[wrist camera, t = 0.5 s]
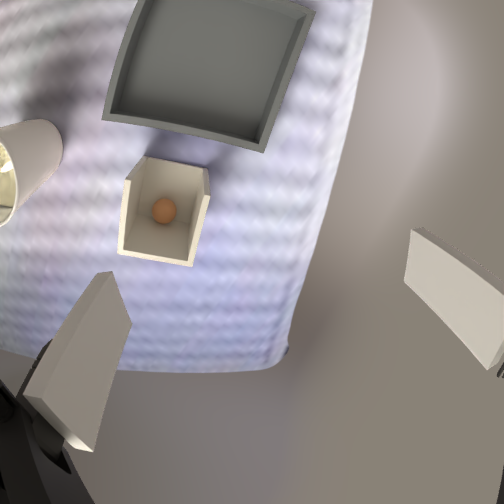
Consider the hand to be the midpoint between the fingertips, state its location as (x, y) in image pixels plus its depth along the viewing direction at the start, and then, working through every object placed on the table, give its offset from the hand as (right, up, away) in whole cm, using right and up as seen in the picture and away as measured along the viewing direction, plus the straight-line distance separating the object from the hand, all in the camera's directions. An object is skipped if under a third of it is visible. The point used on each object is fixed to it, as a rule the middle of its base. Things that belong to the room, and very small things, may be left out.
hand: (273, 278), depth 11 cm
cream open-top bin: (-11, +8, +22) cm, 26 cm away
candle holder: (-28, +14, +14) cm, 34 cm away
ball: (-11, +6, +21) cm, 24 cm away
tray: (-6, +22, +13) cm, 27 cm away
